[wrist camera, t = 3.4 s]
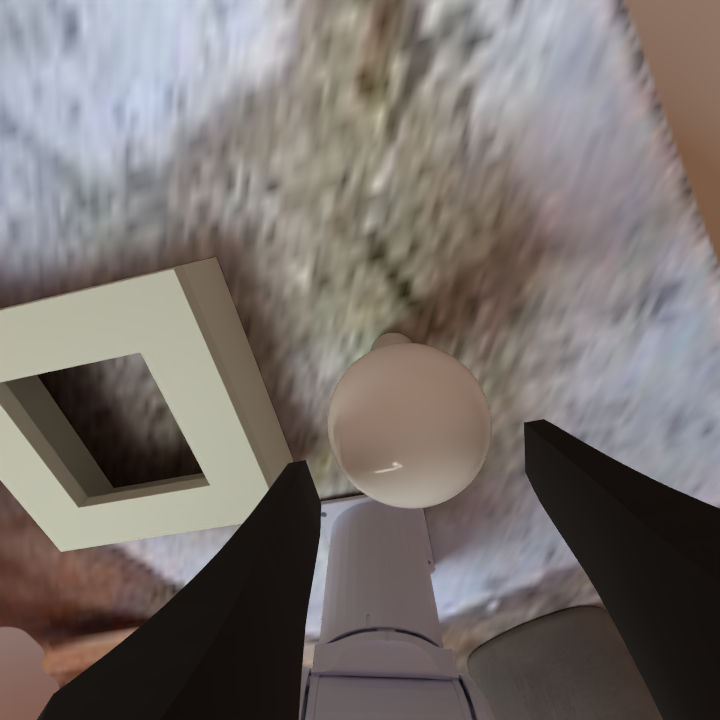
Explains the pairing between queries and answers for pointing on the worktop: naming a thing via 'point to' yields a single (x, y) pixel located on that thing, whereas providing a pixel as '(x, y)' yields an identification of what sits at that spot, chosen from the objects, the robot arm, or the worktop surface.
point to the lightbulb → (409, 424)
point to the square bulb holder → (178, 386)
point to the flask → (562, 671)
